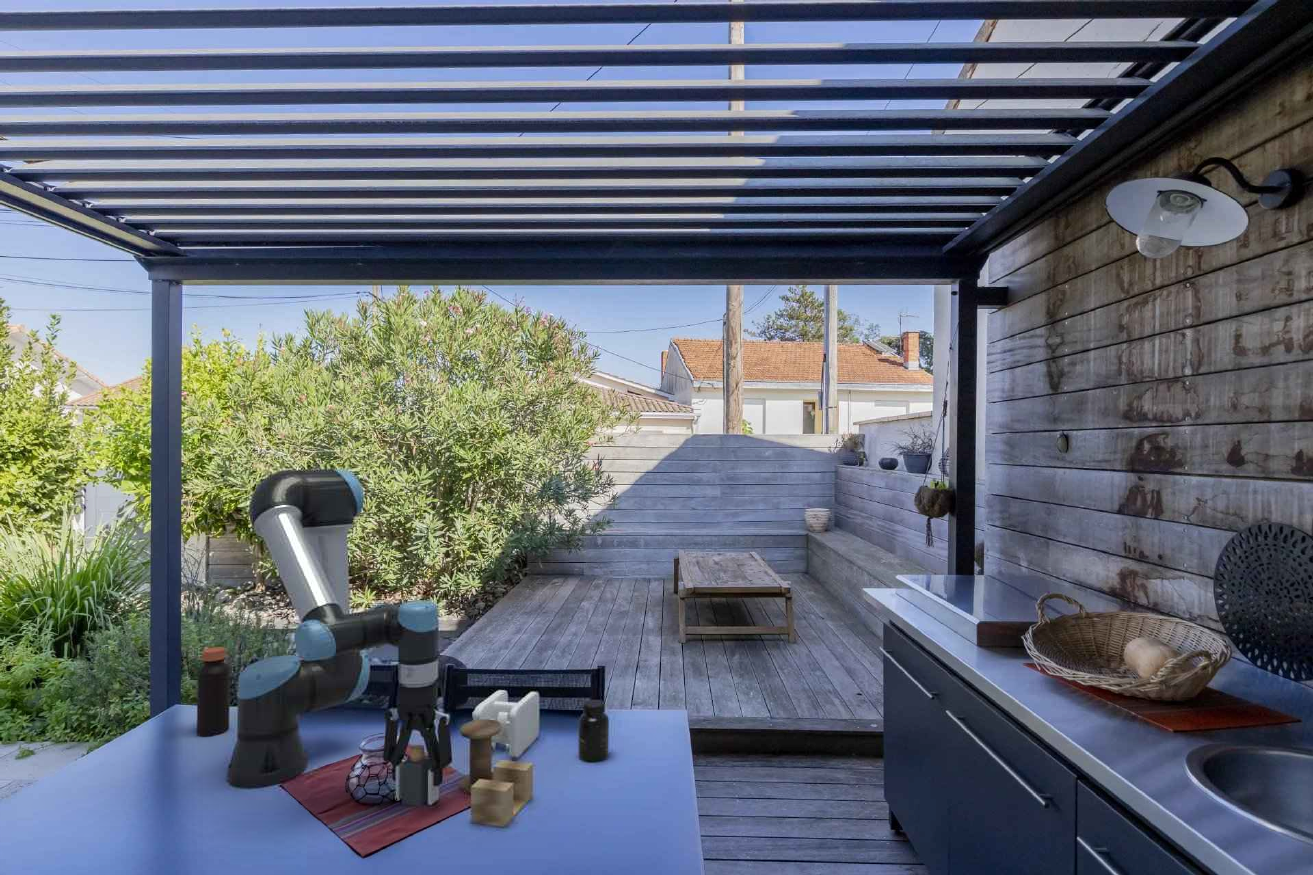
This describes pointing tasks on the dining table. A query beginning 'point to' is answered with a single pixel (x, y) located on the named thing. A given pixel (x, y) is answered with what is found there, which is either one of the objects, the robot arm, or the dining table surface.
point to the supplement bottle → (593, 732)
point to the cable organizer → (512, 720)
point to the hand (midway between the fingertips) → (417, 798)
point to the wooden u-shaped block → (502, 793)
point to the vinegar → (213, 693)
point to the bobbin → (479, 750)
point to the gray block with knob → (415, 777)
